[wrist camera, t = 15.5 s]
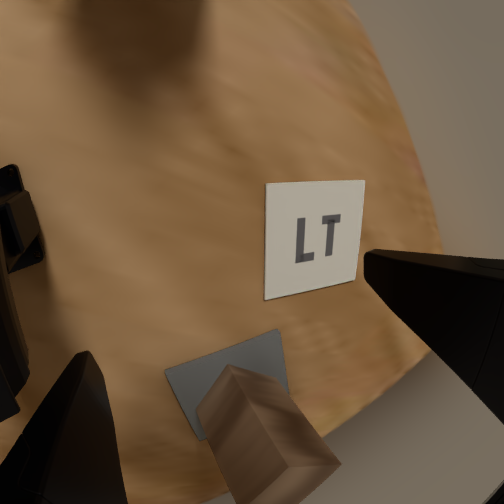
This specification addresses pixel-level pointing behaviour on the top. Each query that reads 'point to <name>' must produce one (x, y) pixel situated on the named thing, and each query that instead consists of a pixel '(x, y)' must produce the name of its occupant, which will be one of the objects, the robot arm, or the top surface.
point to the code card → (311, 235)
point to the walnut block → (262, 439)
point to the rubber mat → (210, 367)
